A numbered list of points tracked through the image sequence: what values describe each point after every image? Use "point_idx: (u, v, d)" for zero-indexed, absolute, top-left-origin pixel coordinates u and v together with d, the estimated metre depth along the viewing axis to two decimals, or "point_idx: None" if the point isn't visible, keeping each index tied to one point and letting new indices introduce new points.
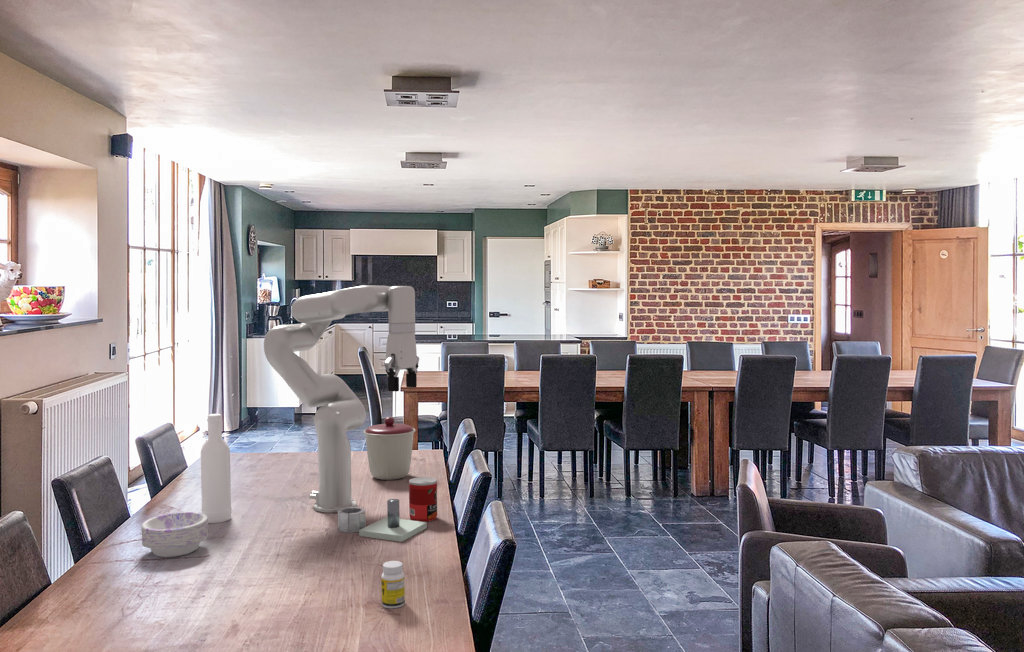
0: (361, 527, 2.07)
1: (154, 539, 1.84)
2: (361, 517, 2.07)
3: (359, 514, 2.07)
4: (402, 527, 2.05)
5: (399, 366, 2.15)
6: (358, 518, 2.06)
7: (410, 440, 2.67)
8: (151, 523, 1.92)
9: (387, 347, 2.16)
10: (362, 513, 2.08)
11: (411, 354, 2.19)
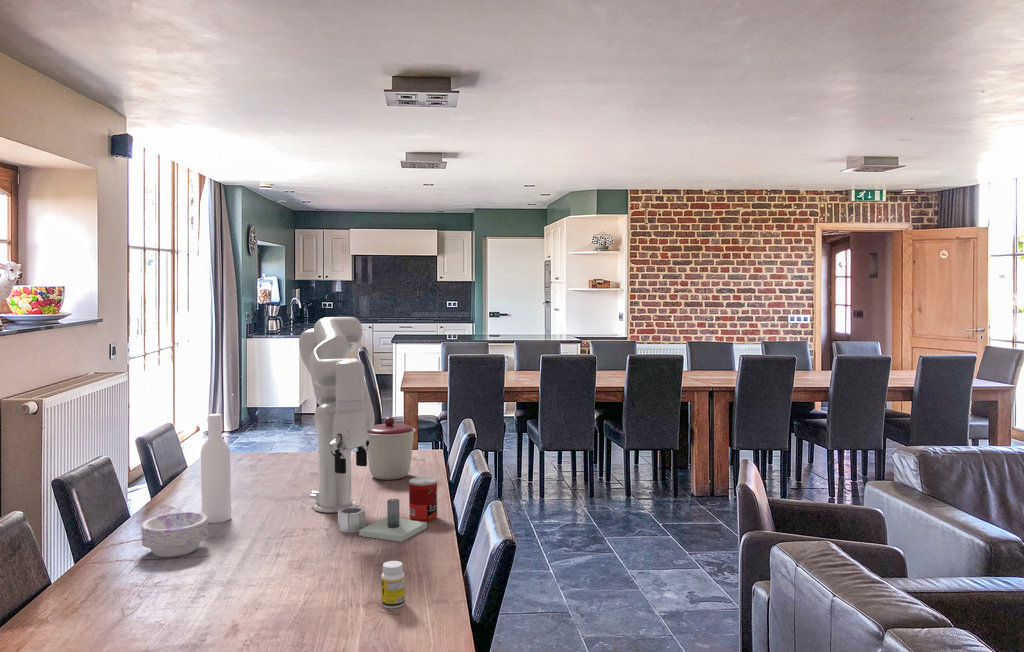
0: (361, 527, 2.07)
1: (154, 539, 1.84)
2: (361, 517, 2.07)
3: (359, 514, 2.07)
4: (402, 527, 2.05)
5: (346, 447, 2.03)
6: (358, 518, 2.06)
7: (410, 440, 2.67)
8: (151, 523, 1.92)
9: (334, 426, 2.04)
10: (362, 513, 2.08)
11: (360, 432, 2.08)
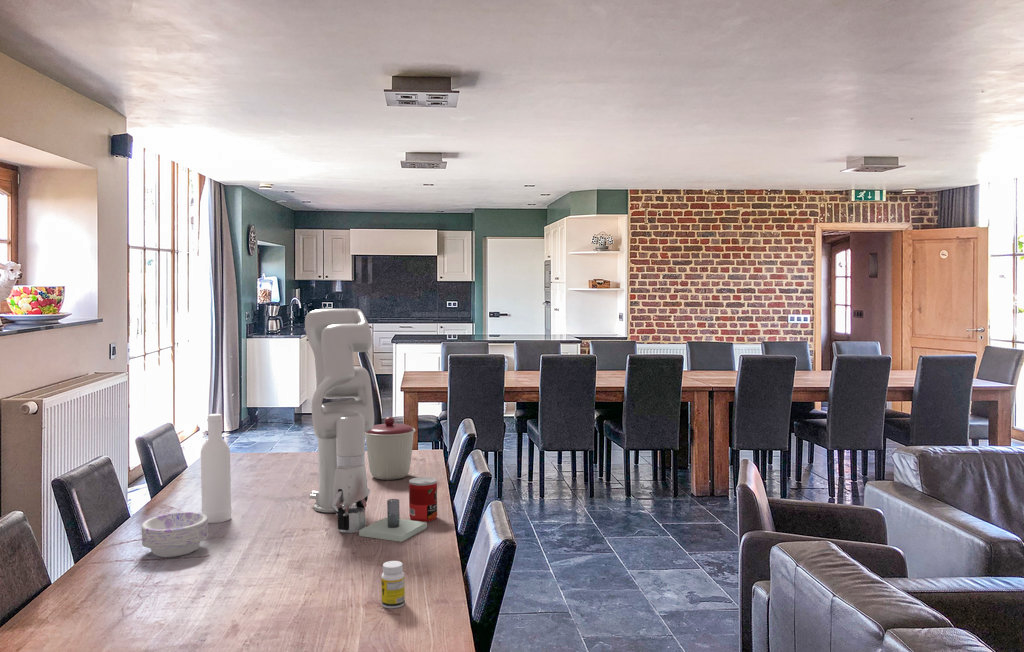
0: (361, 527, 2.07)
1: (154, 539, 1.84)
2: (361, 517, 2.07)
3: (359, 514, 2.06)
4: (402, 527, 2.05)
5: (347, 502, 2.04)
6: (358, 518, 2.06)
7: (410, 440, 2.67)
8: (151, 523, 1.92)
9: (334, 482, 2.05)
10: (362, 513, 2.08)
11: (361, 486, 2.09)
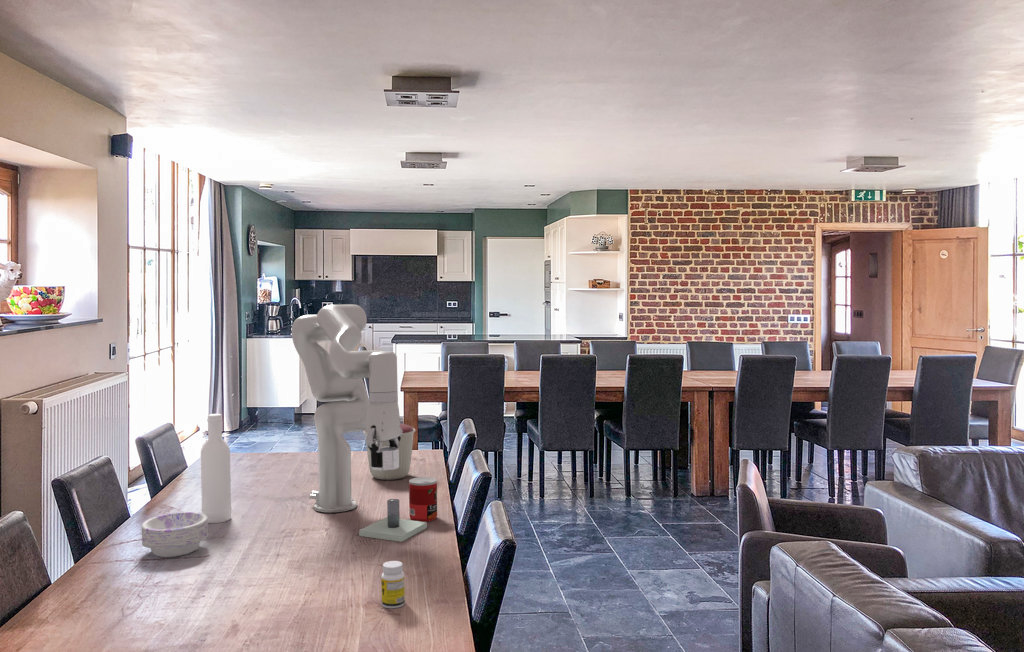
0: (395, 465, 2.04)
1: (154, 539, 1.84)
2: (395, 455, 2.04)
3: (393, 451, 2.03)
4: (402, 527, 2.05)
5: (380, 439, 2.01)
6: (392, 455, 2.03)
7: (410, 440, 2.67)
8: (151, 523, 1.92)
9: (367, 418, 2.02)
10: (395, 451, 2.04)
11: (394, 424, 2.06)
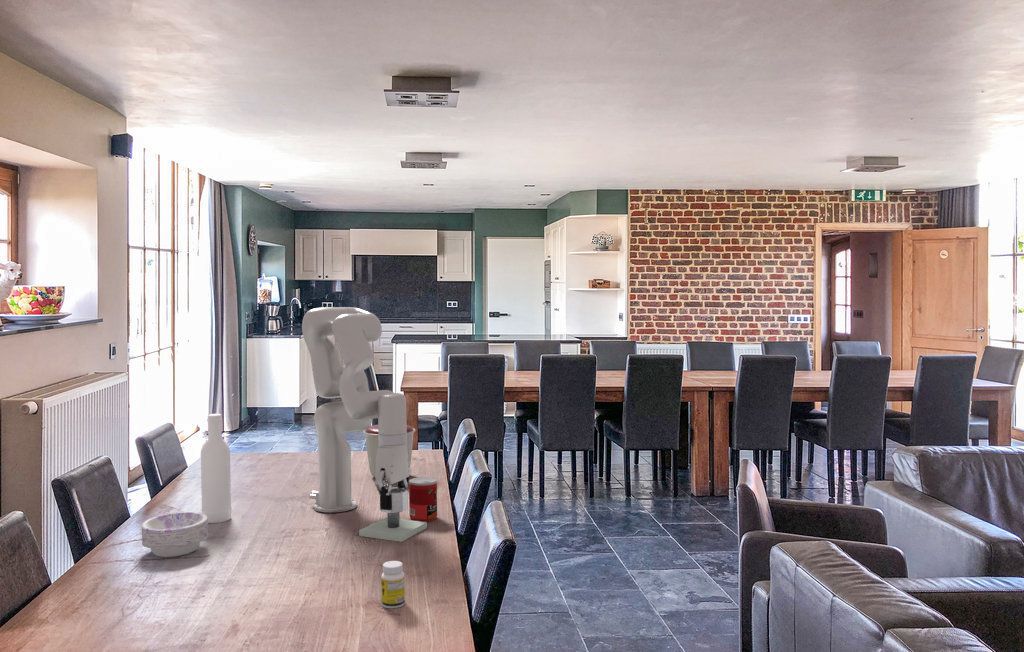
0: (404, 507, 2.04)
1: (154, 539, 1.84)
2: (404, 497, 2.04)
3: (402, 494, 2.03)
4: (402, 527, 2.05)
5: (390, 481, 2.01)
6: (401, 498, 2.03)
7: (410, 440, 2.67)
8: (151, 523, 1.92)
9: (377, 461, 2.02)
10: (405, 493, 2.04)
11: (403, 466, 2.06)
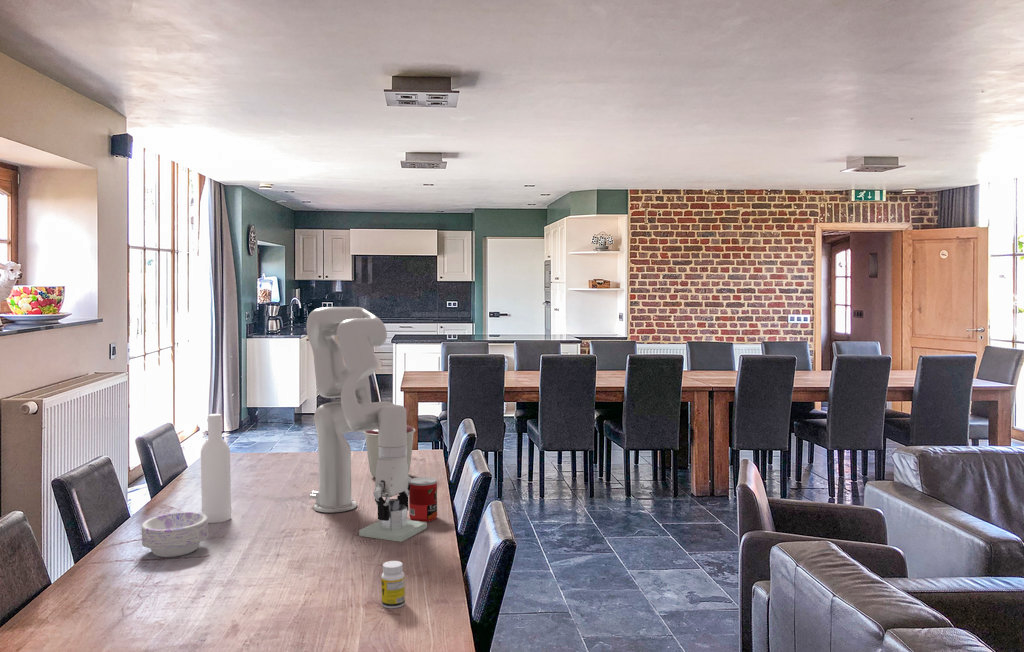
0: (403, 524, 2.04)
1: (154, 539, 1.84)
2: (403, 515, 2.04)
3: (401, 511, 2.04)
4: None
5: (389, 494, 2.01)
6: (400, 515, 2.03)
7: (410, 440, 2.67)
8: (151, 523, 1.92)
9: (377, 473, 2.02)
10: (404, 510, 2.05)
11: (402, 477, 2.06)
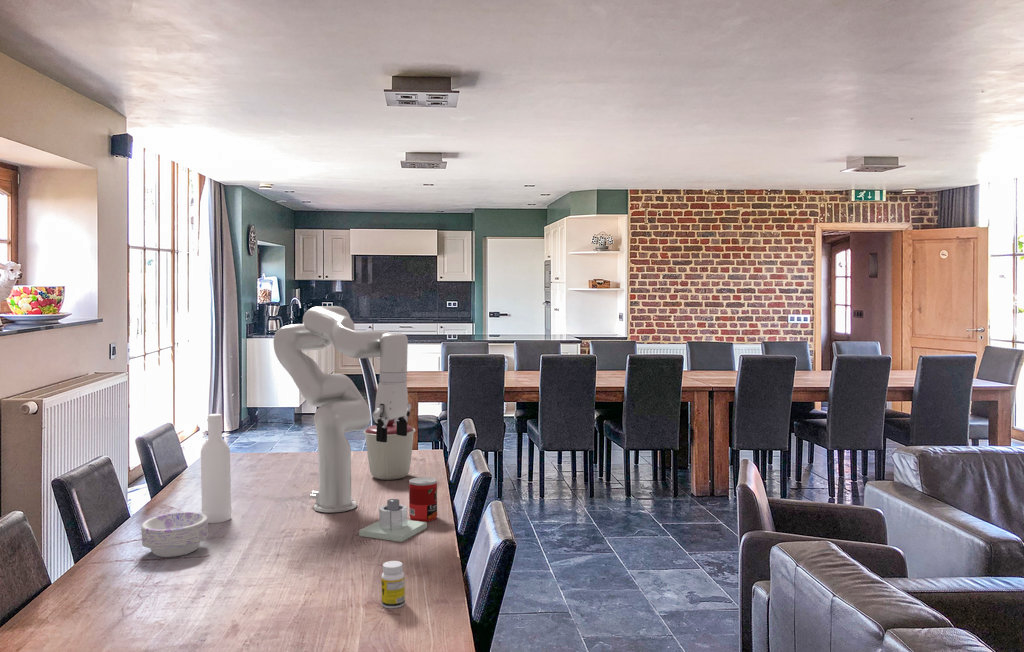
0: (403, 524, 2.04)
1: (154, 539, 1.84)
2: (403, 515, 2.04)
3: (401, 511, 2.04)
4: None
5: (388, 417, 2.09)
6: (400, 515, 2.03)
7: (410, 440, 2.67)
8: (151, 523, 1.92)
9: (377, 396, 2.10)
10: (404, 510, 2.05)
11: (402, 403, 2.14)
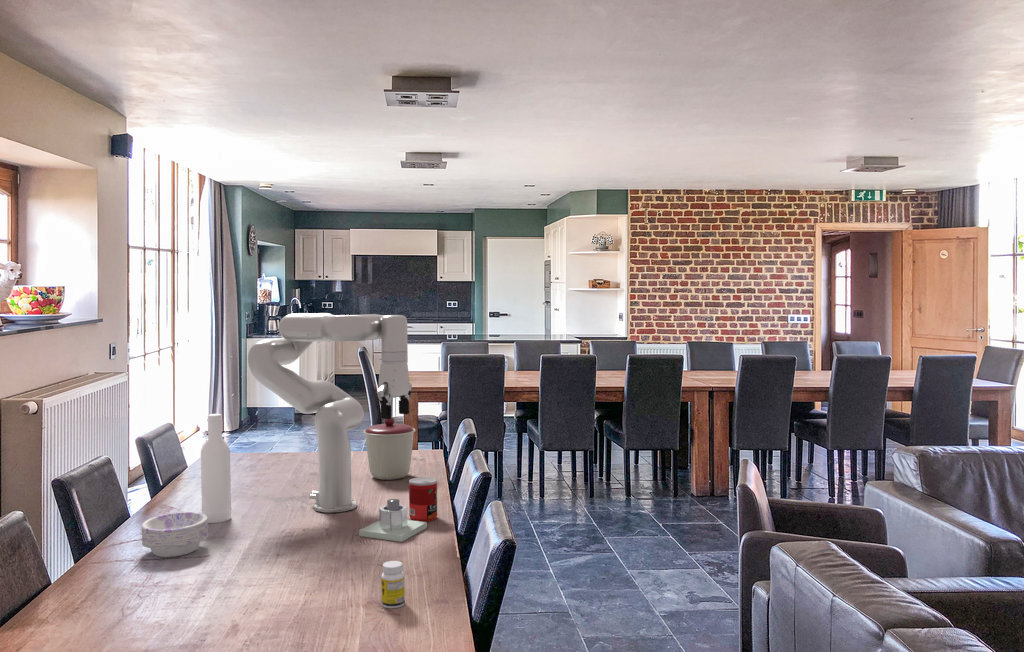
0: (403, 524, 2.04)
1: (154, 539, 1.84)
2: (403, 515, 2.04)
3: (401, 511, 2.04)
4: None
5: (391, 394, 2.18)
6: (400, 515, 2.03)
7: (410, 440, 2.67)
8: (151, 523, 1.92)
9: (380, 375, 2.19)
10: (404, 510, 2.05)
11: (403, 381, 2.23)
